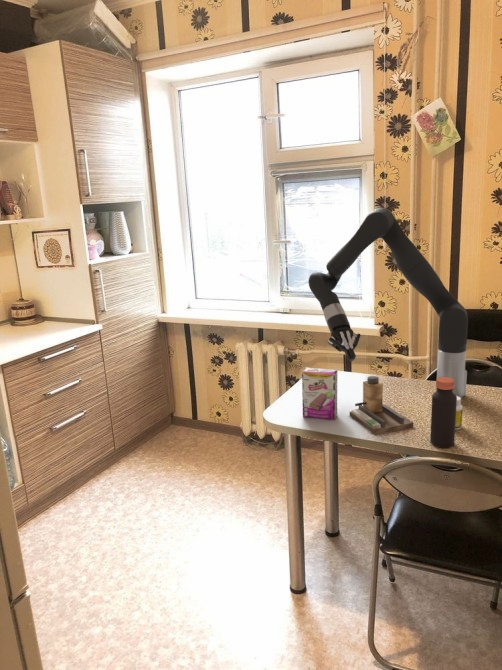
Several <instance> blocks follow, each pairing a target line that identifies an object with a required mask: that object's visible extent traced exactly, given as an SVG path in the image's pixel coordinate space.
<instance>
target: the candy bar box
mask: <svg viewBox="0 0 502 670" xmlns="http://www.w3.org/2000/svg"><path fill="white" fill-rule="evenodd" d="M301 381H302V383H301V384H302V391H301V392H302V393H301V394H302V417H303V418H314V419H323V420H332V421H334V420H336V418H337V416H338V369H332V368H331V369H329V368H318V367H317V368H316V367H304V369H303V370H302V372H301Z"/></svg>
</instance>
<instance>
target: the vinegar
mask: <svg viewBox="0 0 502 670" xmlns="http://www.w3.org/2000/svg"><path fill="white" fill-rule="evenodd" d="M435 379H436V380H435V381H436V382H435V391H434V392H433V393H432V395H431V414H430V415H431V417H430V435H429V436H430V439H429V441H430V444H431V445H433V446H434V447H437V448H442V449H447V448H448V449H449V448H452V447H453V446H455V442H456V441H455V437H456V430H455V423H456V405H457V397H456V395H455V394H454V393H453V389H454V380H453V379H452V378H448V377H440V378H437V377H436V378H435ZM436 389H437V391H436Z"/></svg>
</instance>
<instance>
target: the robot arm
mask: <svg viewBox="0 0 502 670" xmlns="http://www.w3.org/2000/svg"><path fill="white" fill-rule="evenodd" d="M379 238H381V239H382V240H383V241H384V243H385V244H386V245H387V247H388V248H389V249H390V251H391V253H392V256H393V258H394V260H395V261H394V262H395V263H396V265H397V268H398V269H399V271H400V273H401V274H402V275H403V277H404V278H405V279H406V280H407V282H408V283H409V285H411V287H412V288H413V289H414V290H416V291H417V292H418V293H419V294H421V295H422V296H423V297H424V298H425V299H426V300H427V301H428V302H429V304H430V305H431V306H432V308H433V310H435V312H436V314H437V315H438V340H437V341H438V342H437V343H438V344H437V366H436V367H437V368H436V379H437V378H440V377H448V378H452V379H453V380H454V389H453V393H454V394H455V395H456V396H458V397H460V398H461V399H462V398H464V397H465V396H466V395H467V376H468V371H467V369H466V355H467V354H466V353H467V352H466V351H467V341H468V325H469V317H468V312H467V310H466V308H465V307H464V306H463V304H461V303H460V302H459V301H458V300H457V298H455V297H454V296H453V295H452V294H451V292H450V291H449V290H448V289H447V288H446V286H445V284H443V281H442V280H441V279H440V276H439V275H438V273H437V272H436V271H435V269H434V268H433V266H432V265H431V264H430V262H429V261H428V259H426V257H425V256H424V255H423V254H422V253H421V251H420V250H419V249H418V247H416V245H415V244H414V243H413V242H412V240H411V239H410V238H409V237H408V236H407V234H406V233H405V231H404V230H403V229H402V227H401V225H400V224H399V222H398V220H397V219H396V217H395V215H394V214H393V213H392V211H391V210H390V209H388V208H385V207H377V208H375V209H373V210H372V211H370V212H369V213H368V214H367V215H366V216H365V218H364V220H363V222H361V225H359V227H358V229H357V230H356V232H355V233H354V234H353V236H351V238H350V239H349V240H348V241H347V242H346V243H345V244H344V245H343V246H342V247H341V248H340V249H339V250H338V251H337V252H336V253H335V254H334V256H332V258H331V259H330V260H329V261H328V262H327V263H326V266H325V267H326V270H327V273H324V272H319V271H315V272H312V273H311V274H310V275H309V278H308V287H309V289H310V291H311V292H312V294H313V295H314V297H315V299H316V300H317V302H318V303H319V305H320V308H321V309H322V312H323V317H324V320H325V322H326V325H327V328H328V330H329V332H330V337H329V338H328V340H327V344H328V345H330V346H331V347H332V348H334V349H336V350H337V351H338V352H339V353H340V352H344V354H345V357H346V359H347V360H348V361H349V362H352V361H355V360H356V357H357V355H356V353H355V351H354V350H355V349H356V348H357V347H358V344H359V342H360V339H361V336H362V335H361V333H356V332H354V330H353V329H352V328H351V324H350V322H349V319H348V317H347V314H346V312H345V311H346V310H345V309H344V307H343V305H342V304H341V302H340V299H339V297H338V295H337V293H336V292H334V291H333V290H335V288H336V287H337V285H338V283H339V281H341V278H342V275H344V274H345V273H346V272H347V271H348V270H349V268H351V266H352V265H353V264H354V263H355V262H356V260H357V259H358V258H359V256H361V254H362V253H363V252H364V251H365V250H366V249H367V248H368V247H370V245H372V244H373V243H374V242H375V241H376V240H378V239H379ZM352 339H353V340H352ZM436 391H437V389H436V388H435V392H436Z"/></svg>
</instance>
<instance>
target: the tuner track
mask: <svg viewBox="0 0 502 670" xmlns="http://www.w3.org/2000/svg"><path fill="white" fill-rule="evenodd" d="M349 417H350V418H352V419H353V420H355V422H357V423H358V424H359V425H361V426H362V427H363V428H365V429H367V430H368V431H369V432H370V433H372V434H373V435H374V436H377V435H381V434H385V433H390V432H395V431H400V430H404V429H405V430H406V429H410V428H414V421H412V420H410V419H409V418H407V417H406V416H404V415H403V414H402V413H400V412H398V411H396V410H394V408H392V407H390V406H389V405H387V404H382V412H377V413H372V412H371V411H370V410H368V409H367V408H365V407H364V406H363V405H359V406H358V408H353V409H351V411H349Z"/></svg>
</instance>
